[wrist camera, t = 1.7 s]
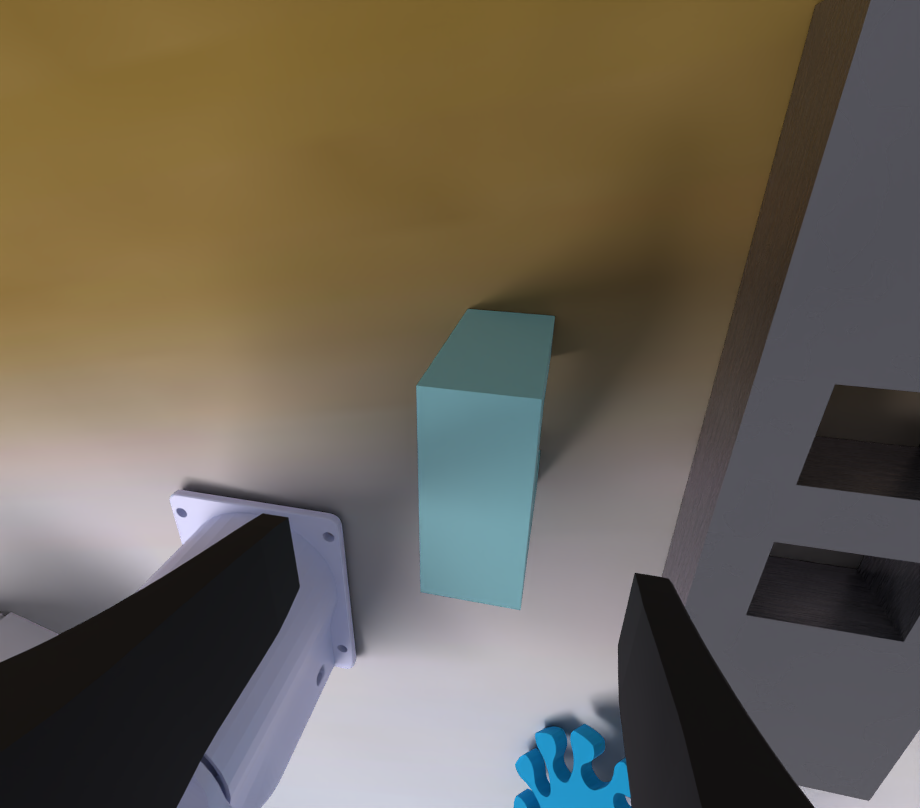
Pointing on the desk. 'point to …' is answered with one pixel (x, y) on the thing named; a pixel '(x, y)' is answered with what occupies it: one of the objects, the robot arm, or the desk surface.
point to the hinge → (20, 635)
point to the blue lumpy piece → (569, 773)
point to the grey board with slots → (800, 412)
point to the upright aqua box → (481, 455)
